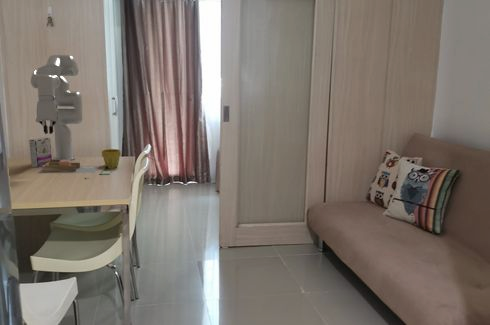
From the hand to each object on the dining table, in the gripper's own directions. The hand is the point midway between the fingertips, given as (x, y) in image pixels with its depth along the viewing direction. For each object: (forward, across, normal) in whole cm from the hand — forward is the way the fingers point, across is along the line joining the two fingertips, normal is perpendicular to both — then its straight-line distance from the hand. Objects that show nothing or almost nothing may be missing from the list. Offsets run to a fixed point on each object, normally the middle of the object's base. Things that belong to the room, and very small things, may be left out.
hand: (48, 133), depth 234 cm
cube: (+20, -8, 0) cm, 21 cm away
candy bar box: (+21, +9, -14) cm, 27 cm away
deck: (+21, -10, -1) cm, 23 cm away
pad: (+21, -28, +5) cm, 36 cm away
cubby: (+20, -6, 0) cm, 21 cm away
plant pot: (+21, -30, -12) cm, 39 cm away
